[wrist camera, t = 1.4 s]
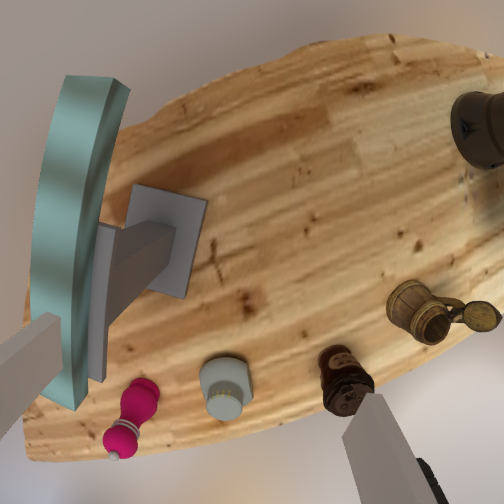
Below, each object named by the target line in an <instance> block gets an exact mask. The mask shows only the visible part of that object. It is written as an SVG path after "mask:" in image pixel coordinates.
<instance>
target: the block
mask: <svg viewBox="0 0 504 504" xmlns="http://www.w3.org/2000/svg"><path fill="white" fill-rule="evenodd" d="M129 93H130V89H129V88H128V87H126V86H125V85H123V84H122V83H120V82H119V81H118V80H116V79H115V78H109V77H96V76H95V77H94V76H69V75H66V77H65V80H64V83H63V85H62V89H61V92H60V95H59V98H58V101H57V105H56V108H55V112H54V115H53V119H52V123H51V127H50V131H49V134H48V139H47V143H46V147H45V152H44V157H43V162H42V167H41V172H40V179H39V185H38V191H37V198H36V205H35V214H34V223H33V233H32V248H31V269H30V307H31V322H33V321H34V320H35V319H37V318H38V317H40V316H41V315H42V314H44V313H45V312H47V311H48V312H50V313H52V314H55V315H57V316H59V317H61V346H62V363H63V369H62V370H61V371H60V372H59V373H58V374H57V376H56V377H55V378H54V379H53V380H52V381H51V382H50V383H49V384H48V385H47V387H46V388H45V389H44V390H43V391H42V392H41V393H40V395H42V396H44V397H46V398H48V399H50V400H52V401H54V402H56V403H58V404H60V405H62V406H64V407H66V408H68V409H70V410H72V411H76V410H77V408H78V407H79V405H80V404H81V403H82V401H83V400H84V398H85V397H86V396H87V394H88V320H89V302H90V289H91V278H92V268H93V259H94V251H95V243H96V236H97V229H98V223H99V217H100V211H101V205H102V200H103V194H104V189H105V184H106V180H107V175H108V170H109V166H110V162H111V157H112V153H113V149H114V145H115V141H116V137H117V134H118V130H119V126H120V123H121V119H122V116H123V112H124V109H125V106H126V102H127V99H128V96H129Z"/></svg>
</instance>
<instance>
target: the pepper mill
mask: <svg viewBox="0 0 504 504" xmlns="http://www.w3.org/2000/svg"><path fill="white" fill-rule="evenodd" d="M159 396H160V392H159V389H158V387H157V386H156V385H155V384H154V383H153V382H152V381H150V380H147V379H144V378H138V379H135V380H134V381H132V383H131V385H130V386H129V388H127V389H126V390H125V391H124V392H123V394H122V397H121V402H120V406H121V416H120V418H119V419H118V420H115V421H114V422H113V425H112V426H111V428H109V429H108V430H106V432H105V433H104V435H103V445H104V447H105V449H106V450H107V452H108V453H109V458H110V459H111V460H112V461H117V460H118V459H119V458H120V459H127V458H130V457H132V456H133V455H134V454H135V453H136V451H137V448H138V443H137V440H138V438H139V436H140V432H139V428H140V426H141V425H142V424H143V423H144V422H146V421H147V420H149V419H150V418H151V417H152V416H153V415H154V414H155V412H156V410H157V401H158V399H159Z"/></svg>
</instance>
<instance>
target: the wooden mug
mask: <svg viewBox="0 0 504 504" xmlns="http://www.w3.org/2000/svg"><path fill="white" fill-rule="evenodd" d="M447 306H452V307H453V308H452V309H451V311H448V309H447ZM386 309H387V316H388V318H389V320H390V321H391V322H392V323H393V324H394V325H396V326H398V327H399V328H402V329H404V330H405V331H407V332H408V333H410V334H411V335H412V336H413V337H414V339H415V340H417V341H419V342H421V343H424V344H426V345H436V344H438V343H440V342H441V341H442V340H444V338H445V337H446V336H447V334H448V331H449V329H450V325H451V323H465V324H466V325H467V326H468V327H469V328H470V329H472V330H473V331H476V332H489V331H491V330H493V329H495V328H496V327H497V326H498V324H499V323H500V321H501V320H502V315H501V314H500V312H499V311H498V310H497V309H496V308H495V307H494V306H493V305H492V304H490V303H489V302H486V301H472V302H469V303H468V304H466V305H465V304H464V303H463V302H462V301H461V300H458V299H455V298H446V297H436V296H434V295H432V294H431V292H430V290H429V288H428V287H426V286H425V285H424V284H422V283H421V282H419V281H417V280H411V281H406V282H405V283H402V284H401V285H399V286H398V287H397V288H396V289H395V290H394V291H393V293H392V294H391V295H390V297H389V299H388V302H387V308H386Z"/></svg>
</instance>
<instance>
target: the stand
mask: <svg viewBox="0 0 504 504" xmlns="http://www.w3.org/2000/svg"><path fill="white" fill-rule="evenodd" d="M207 203H208V201H207V200H203V199H199V198H195V197H191V196H187V195H183V194H179V193H175V192H171V191H166V190H162V189H158V188H154V187H150V186H145V185H141V184H133V188H132V192H131V197H130V202H129V207H128V212H127V217H126V223H125V228H124V229H122V230H121V228H120V227H116V226H112V225H109V224H105V223H101V222H99V223H98V229H97V236H96V243H95V251H94V259H93V268H92V278H91V289H90V302H89V320H88V378H90V379H93V380H95V381H98V382H100V383H103V381H104V380H105V378H106V366H107V344H108V329H109V326H110V325H111V324H112V322H113V321H114V320H115V319H116V318H117V317H118V316H119V315H120V314H121V313H122V312H123V311H124V310H125V309H126V308H127V307H128V306H129V305H130V304H131V303H132V302H133V301H134V299H135V298H136V297H137V296H138V295H139V294H140V293H141V292H142V291H143V290H144V289H145V288H146V289H150V290H153V291H156V292H160V293H163V294H167V295H170V296H174V297H177V298H181V299H184V298H185V296H186V294H187V289H188V285H189V280H190V275H191V271H192V266H193V262H194V257H195V253H196V249H197V244H198V240H199V236H200V232H201V228H202V224H203V219H204V215H205V211H206V207H207Z"/></svg>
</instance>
